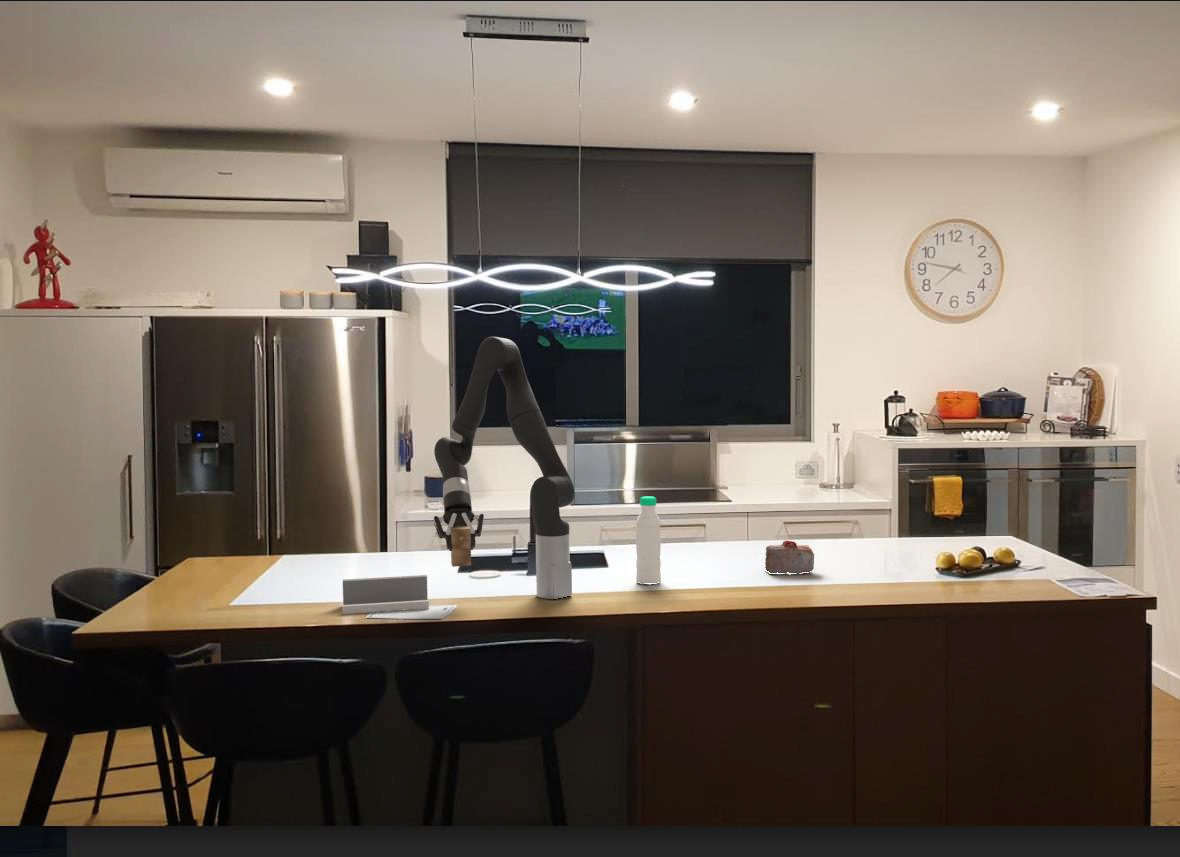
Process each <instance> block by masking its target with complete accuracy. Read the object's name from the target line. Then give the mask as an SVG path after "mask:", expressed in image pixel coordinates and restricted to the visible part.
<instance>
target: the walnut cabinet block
mask: <svg viewBox="0 0 1180 857" xmlns="http://www.w3.org/2000/svg"><path fill="white" fill-rule="evenodd" d="M451 540H452V551H450V558H451V559H450V561H451V562H450V564H451V566H452V567H453V568H454V567H456V568H457V567H470V566H472V550H471V534H470V527H469V526H458V527H451Z"/></svg>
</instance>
